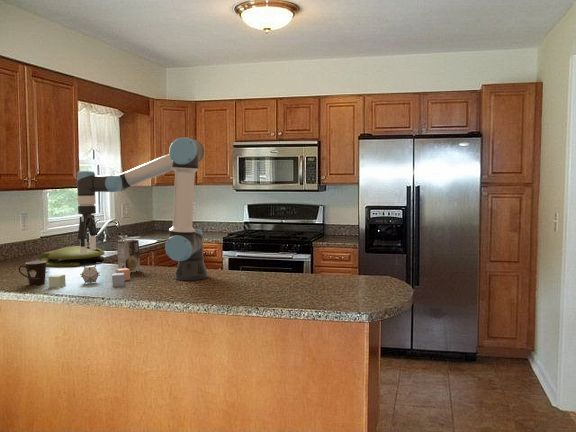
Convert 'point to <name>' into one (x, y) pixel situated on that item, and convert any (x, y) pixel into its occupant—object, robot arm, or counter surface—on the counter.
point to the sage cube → (57, 281)
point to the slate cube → (118, 279)
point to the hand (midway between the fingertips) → (88, 251)
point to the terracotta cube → (126, 273)
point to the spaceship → (69, 256)
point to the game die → (90, 274)
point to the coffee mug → (35, 272)
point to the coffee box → (128, 255)
